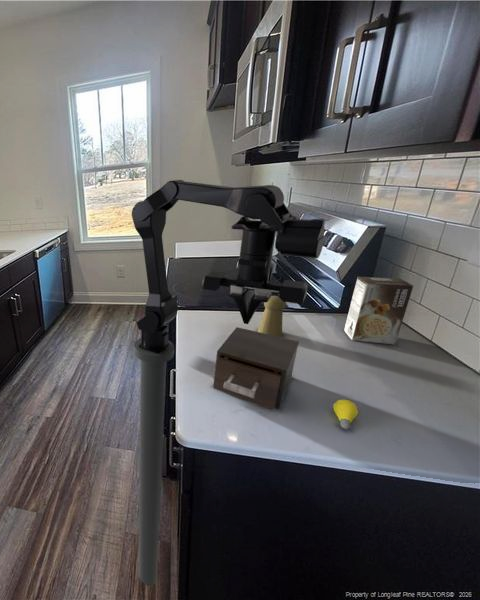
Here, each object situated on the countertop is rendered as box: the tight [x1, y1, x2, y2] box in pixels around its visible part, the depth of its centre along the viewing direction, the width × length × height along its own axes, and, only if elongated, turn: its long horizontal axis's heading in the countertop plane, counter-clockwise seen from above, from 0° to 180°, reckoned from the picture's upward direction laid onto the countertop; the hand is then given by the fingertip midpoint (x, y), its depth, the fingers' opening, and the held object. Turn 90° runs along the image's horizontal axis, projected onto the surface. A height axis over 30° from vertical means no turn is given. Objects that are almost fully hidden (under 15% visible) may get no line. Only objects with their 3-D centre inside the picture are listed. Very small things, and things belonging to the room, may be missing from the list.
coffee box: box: [343, 276, 414, 345], centre depth 82 cm, size 9×6×16 cm
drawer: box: [213, 356, 282, 411], centre depth 66 cm, size 17×11×7 cm
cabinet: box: [212, 326, 300, 411], centre depth 69 cm, size 14×13×9 cm
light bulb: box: [332, 398, 359, 430], centre depth 58 cm, size 3×6×4 cm, turn 145°
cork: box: [257, 295, 287, 337], centre depth 88 cm, size 6×6×11 cm
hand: (246, 323), depth 69 cm, fingers closed
